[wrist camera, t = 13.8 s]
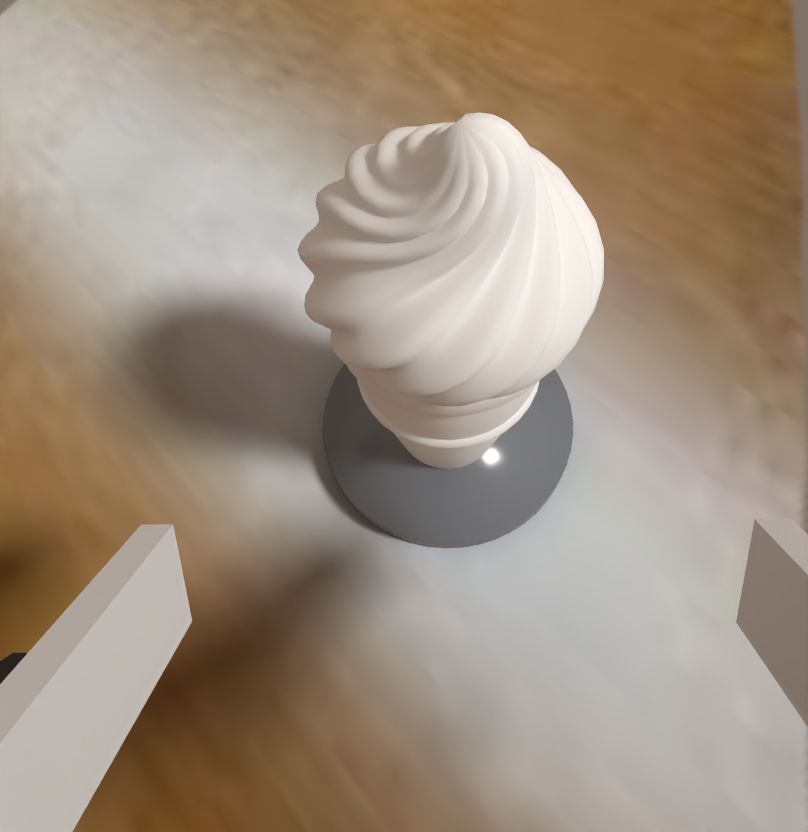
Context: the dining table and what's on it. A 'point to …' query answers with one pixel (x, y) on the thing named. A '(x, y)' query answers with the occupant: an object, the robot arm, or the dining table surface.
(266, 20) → the dining table surface
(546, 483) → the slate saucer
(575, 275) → the soft serve ice cream cone
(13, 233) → the dining table surface
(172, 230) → the dining table surface
